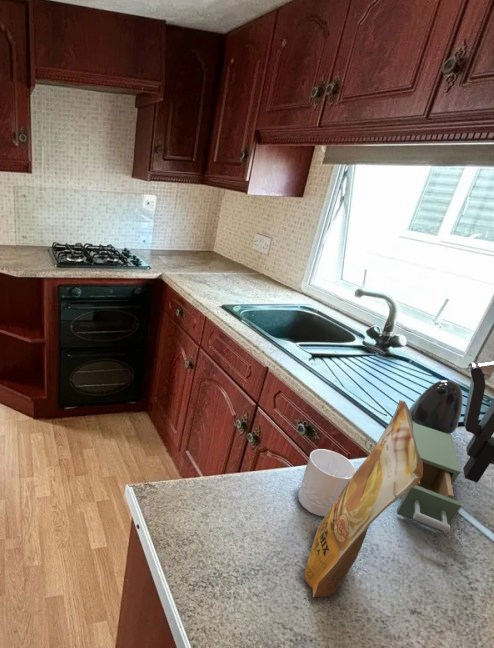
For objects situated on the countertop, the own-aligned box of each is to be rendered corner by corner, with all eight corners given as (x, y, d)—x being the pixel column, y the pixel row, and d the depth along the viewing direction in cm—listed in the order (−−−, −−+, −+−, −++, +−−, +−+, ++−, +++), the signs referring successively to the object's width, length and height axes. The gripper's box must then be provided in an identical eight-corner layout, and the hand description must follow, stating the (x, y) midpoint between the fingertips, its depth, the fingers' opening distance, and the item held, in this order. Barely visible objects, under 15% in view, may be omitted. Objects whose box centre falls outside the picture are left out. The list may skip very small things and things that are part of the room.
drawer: (446, 552, 69) (465, 524, 66) (396, 531, 72) (412, 503, 69) (437, 489, 83) (452, 464, 80) (396, 474, 87) (409, 449, 84)
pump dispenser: (393, 425, 106) (417, 375, 99) (415, 417, 110) (440, 369, 104) (434, 449, 98) (464, 396, 91) (456, 439, 102) (486, 388, 96)
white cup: (339, 499, 79) (357, 460, 75) (336, 526, 73) (355, 485, 69) (298, 482, 83) (312, 443, 78) (291, 506, 77) (307, 466, 72)
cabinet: (440, 505, 81) (460, 472, 77) (391, 485, 85) (408, 453, 81) (434, 465, 92) (452, 435, 88) (391, 450, 96) (406, 420, 92)
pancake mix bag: (359, 536, 72) (427, 404, 59) (343, 624, 57) (428, 473, 45) (320, 517, 75) (376, 387, 63) (294, 595, 60) (361, 447, 48)
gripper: (501, 324, 50) (420, 470, 60) (650, 357, 44) (532, 512, 55) (490, 310, 56) (418, 445, 66) (621, 337, 50) (519, 481, 60)
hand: (470, 475), depth 60 cm, fingers closed
